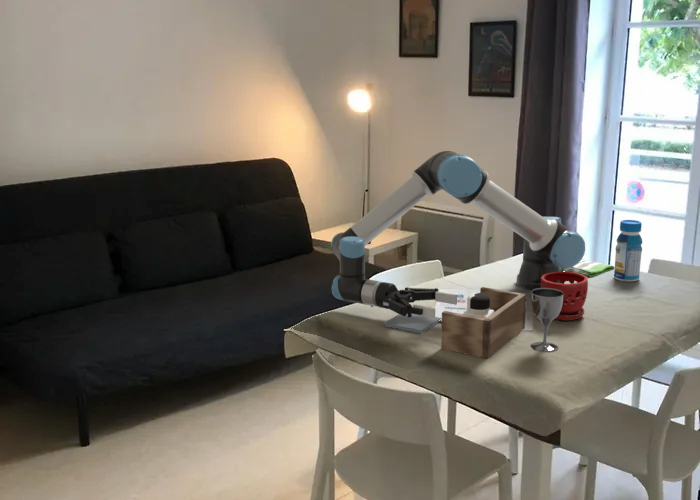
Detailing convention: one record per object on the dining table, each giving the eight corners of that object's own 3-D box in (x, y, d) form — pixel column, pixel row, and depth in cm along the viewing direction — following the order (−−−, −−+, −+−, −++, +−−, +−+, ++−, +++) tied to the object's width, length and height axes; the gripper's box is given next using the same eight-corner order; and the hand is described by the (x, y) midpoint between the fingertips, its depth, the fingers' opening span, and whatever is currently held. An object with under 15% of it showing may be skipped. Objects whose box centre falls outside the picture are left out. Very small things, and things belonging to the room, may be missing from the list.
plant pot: (553, 305, 227) (556, 268, 224) (593, 315, 218) (596, 276, 215) (530, 316, 218) (532, 277, 215) (571, 326, 209) (573, 286, 206)
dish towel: (559, 258, 283) (559, 249, 282) (615, 270, 266) (615, 260, 265) (533, 266, 272) (533, 257, 271) (589, 279, 255) (590, 269, 254)
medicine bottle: (493, 334, 204) (495, 292, 201) (487, 343, 197) (488, 300, 194) (468, 330, 207) (469, 289, 204) (461, 339, 200) (462, 297, 197)
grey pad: (384, 326, 211) (384, 322, 211) (404, 314, 221) (404, 311, 221) (421, 333, 205) (421, 330, 204) (441, 321, 214) (441, 318, 214)
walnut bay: (441, 348, 194) (441, 312, 191) (481, 320, 215) (482, 287, 212) (487, 358, 187) (488, 321, 185) (524, 328, 208) (526, 294, 206)
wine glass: (524, 342, 198) (527, 288, 194) (553, 340, 198) (557, 287, 195) (534, 353, 190) (537, 297, 186) (564, 351, 191) (568, 296, 187)
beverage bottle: (636, 283, 248) (641, 225, 243) (610, 280, 252) (615, 222, 247) (641, 277, 255) (646, 220, 250) (616, 274, 259) (620, 218, 254)
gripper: (401, 295, 228) (464, 306, 216) (357, 318, 208) (424, 332, 196) (401, 272, 226) (465, 282, 215) (357, 293, 206) (424, 305, 194)
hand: (446, 306), depth 205 cm, fingers open, 13 cm apart
